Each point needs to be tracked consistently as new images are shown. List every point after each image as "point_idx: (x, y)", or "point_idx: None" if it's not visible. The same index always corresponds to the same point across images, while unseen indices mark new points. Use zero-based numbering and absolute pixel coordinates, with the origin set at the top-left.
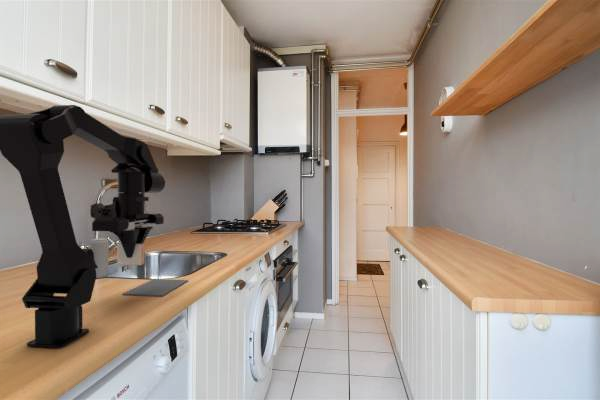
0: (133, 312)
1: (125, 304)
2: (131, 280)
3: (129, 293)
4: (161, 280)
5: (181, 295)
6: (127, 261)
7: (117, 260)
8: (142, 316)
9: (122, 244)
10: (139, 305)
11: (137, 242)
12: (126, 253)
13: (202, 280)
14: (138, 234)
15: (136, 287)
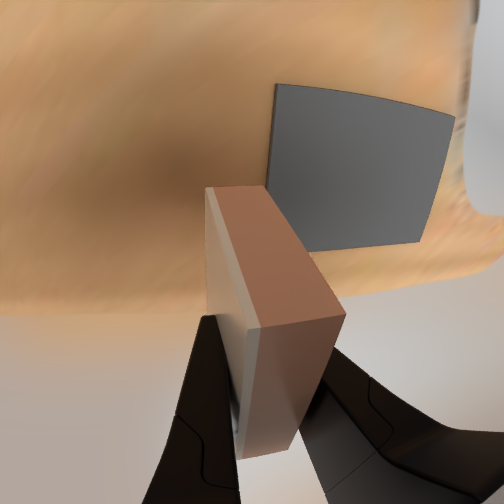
0: (99, 258)
1: (160, 177)
2: (457, 31)
3: (280, 116)
4: (436, 154)
5: None
6: (209, 284)
7: (210, 206)
8: (84, 299)
9: (173, 422)
10: (160, 234)
11: (310, 427)
12: (195, 346)
13: (416, 271)
14: (344, 490)
15: (363, 99)
